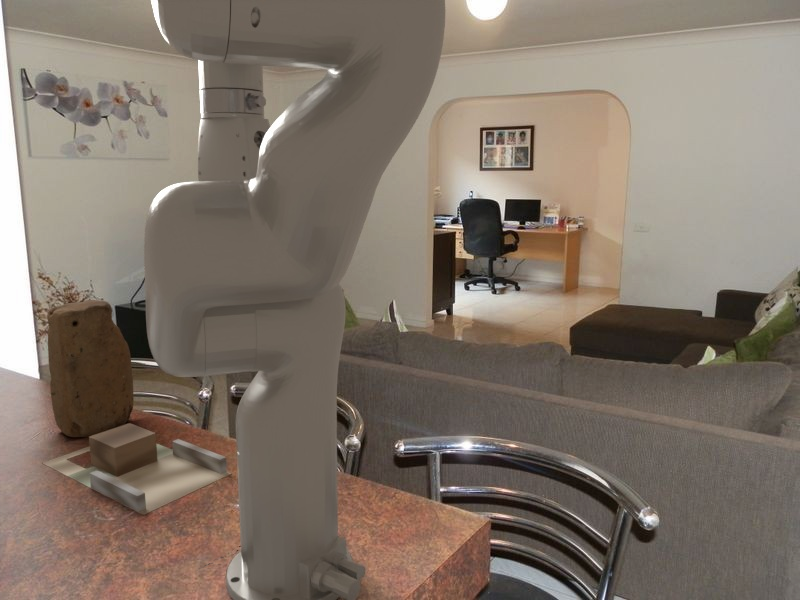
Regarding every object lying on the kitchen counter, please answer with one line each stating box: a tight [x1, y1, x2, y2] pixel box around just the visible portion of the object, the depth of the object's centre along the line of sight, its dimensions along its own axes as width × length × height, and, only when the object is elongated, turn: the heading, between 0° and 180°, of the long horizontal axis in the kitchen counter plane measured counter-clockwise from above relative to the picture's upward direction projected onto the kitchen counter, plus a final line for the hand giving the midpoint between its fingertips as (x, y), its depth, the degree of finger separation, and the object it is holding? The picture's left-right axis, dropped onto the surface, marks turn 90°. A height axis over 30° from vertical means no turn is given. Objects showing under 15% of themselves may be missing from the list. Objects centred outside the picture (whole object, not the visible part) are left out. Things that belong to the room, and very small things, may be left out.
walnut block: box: [88, 422, 158, 477], centre depth 89 cm, size 6×6×4 cm
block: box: [46, 299, 135, 438], centre depth 102 cm, size 11×8×20 cm
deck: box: [41, 438, 232, 516], centre depth 88 cm, size 23×13×3 cm, turn 55°
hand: (238, 256), depth 85 cm, fingers closed
